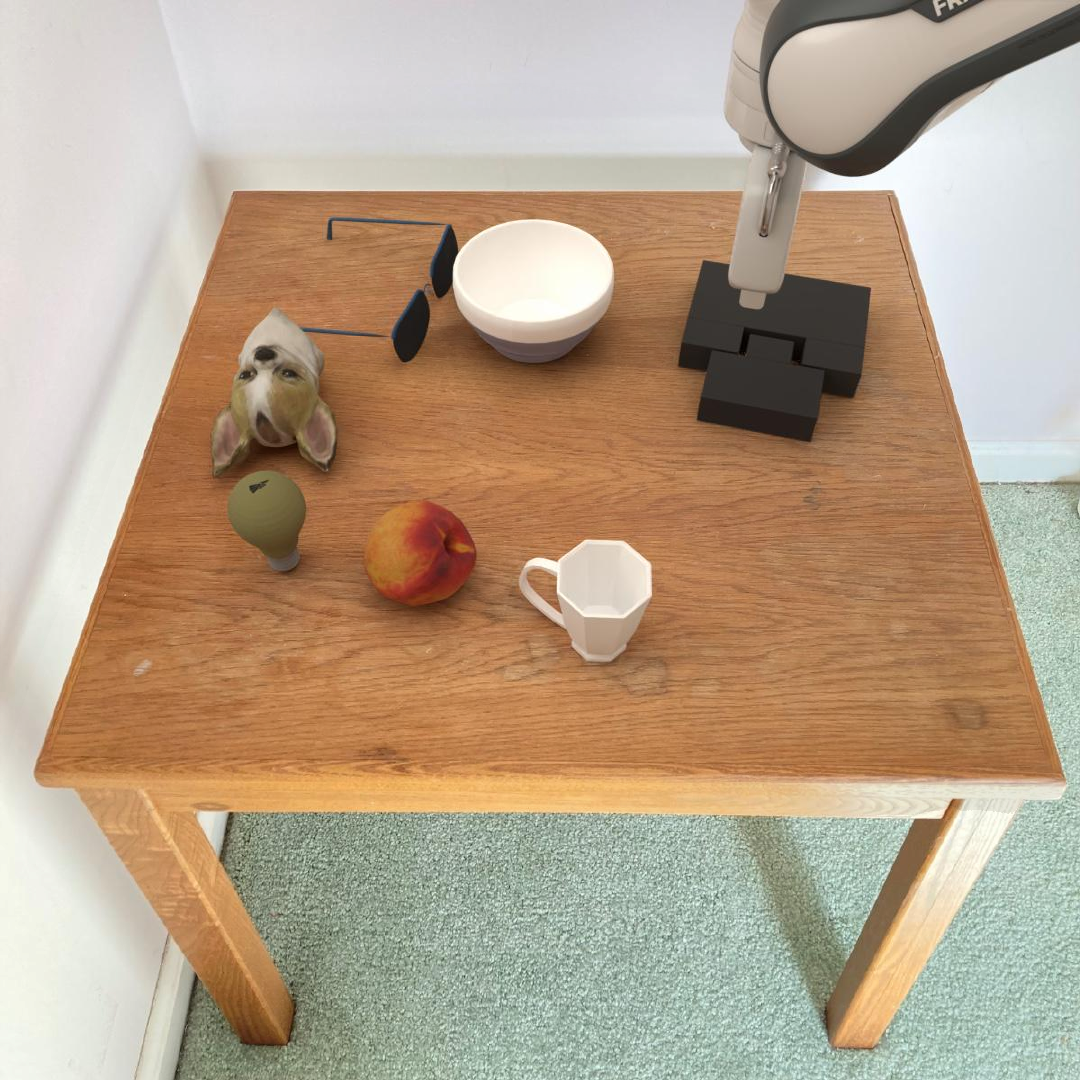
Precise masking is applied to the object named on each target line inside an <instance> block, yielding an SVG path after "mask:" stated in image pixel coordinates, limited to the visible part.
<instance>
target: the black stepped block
mask: <svg viewBox="0 0 1080 1080" xmlns="http://www.w3.org/2000/svg"><path fill="white" fill-rule="evenodd" d="M793 347H794V342H792V341H787V340H781V339H775V338H770V337H764V336H758V335H753V334H750V337H749V341H748V346H747V350H746V352H745V355H741V354H739V355H736V354H730V353H725V352H719V351H713V350H712V352H711V356H710V360H709V364H708V368H707V372H706V373H705V377H704V382H703V385H702V390H701V393H700V398H699V403H698V410H697V416H696V421H698V422H703V423H709V424H713V425H719V426H722V427H723V426H724V427H728V428H729V427H730V428H735V429H739V430H745V431H750V432H755V433H761V434H766V435H771V436H775V437H782V438H786V439H792V440H796V441H797V440H798V441H802V442H808V443H811V441H812V438H813V436H814V433H815V430H816V425H817V423H818V420H819V413H820V408H821V400H822V394H823V393H822V386H823V379H824V372H825V371H824V370H819V369H814V368H808V367H803V366H799V365H797V364H792V360H791V359H792V353H793Z"/></svg>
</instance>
